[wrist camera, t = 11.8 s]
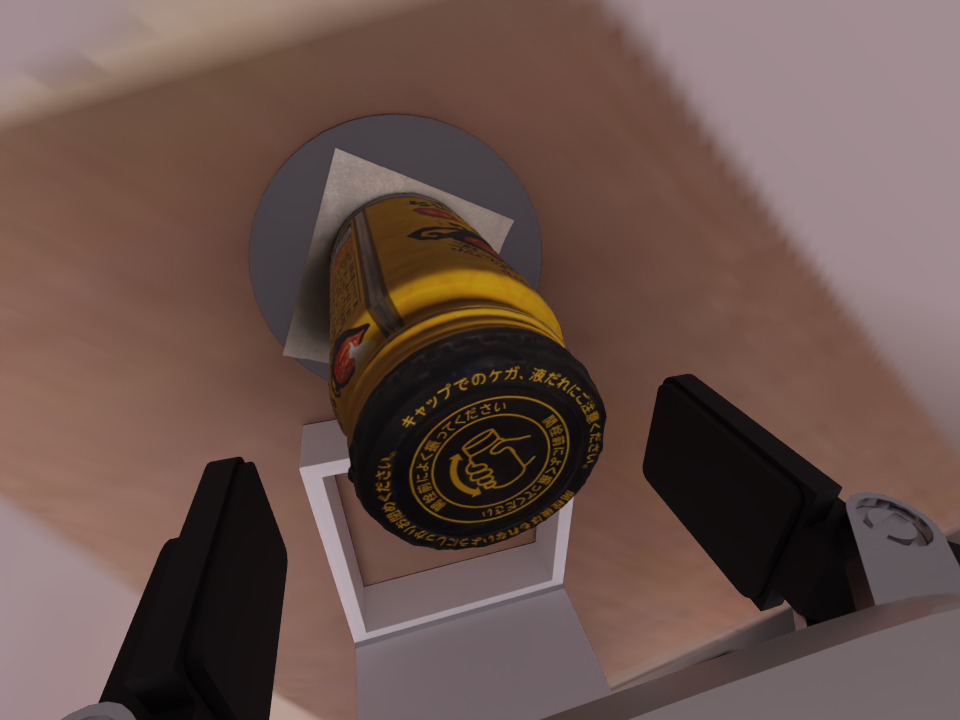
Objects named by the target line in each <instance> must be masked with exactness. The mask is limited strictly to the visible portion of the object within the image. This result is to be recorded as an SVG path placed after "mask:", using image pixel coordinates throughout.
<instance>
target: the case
mask: <svg viewBox="0 0 960 720" xmlns="http://www.w3.org/2000/svg"><path fill="white" fill-rule="evenodd" d="M349 467H350V459H349V453H348V447H347V437H346V436H345V435H344V434H343V432H342V431H341V428H340V426H339V424H338V422H337V419H336V420H331V421H325V422H320V423H314V424H308V425H303V432H302V442H301V452H300V463H299V470H300V473H301V476H302V479H303V482H304V486H305V489H306V492H307V495H308V498H309V501H310V504H311V508H312V511H313V514H314V517H315V520H316V523H317V526H318V530H319V533H320V536H321V539H322V542H323V545H324V548H325V552H326V555H327V558H328V561H329V564H330V567H331V570H332V573H333V577H334V580H335V583H336V586H337V589H338V592H339V595H340V599H341V602H342V605H343V608H344V611H345V614H346V617H347V621H348V624H349V627H350V630H351V633H352V636H353V639H354V643H355V662H356V691H357V720H540V719H543V718H546V717H548V716H551V715H554V714H557V713H560V712H563V711H566V710H568V709H571V708H574V707H577V706H580V705H583V704H586V703H589V702H591V701H594V700H597V699H600V698H603V697H606V696H609V695H612V694H613V693H612V691H611V689H610V686H609V684H608V682H607V680H606V678H605V675H604V673H603V671H602V669H601V667H600V665H599V662H598V660H597V658H596V656H595V654H594V652H593V649H592V647H591V645H590V643H589V641H588V639H587V636H586V634H585V632H584V630H583V628H582V625H581V623H580V621H579V619H578V617H577V615H576V612H575V610H574V608H573V606H572V604H571V602H570V599H569V597H568V595H567V593H566V591H565V588H564V585H563V577H564V569H565V561H566V553H567V546H568V538H569V530H570V522H571V514H572V507H573V499H574V497H573V498H572V499H571V500H569V502H568V503H567V504H566V505H565V506H564V507H562V508H561V509H560V510H559V511H557V512H556V513H555V514H554V515H552V516H550V517H549V518H548V519H547V520H546V521H544V522H541V523H540V524H539V525H537V527H536V541H535V542H534V543H531V544H527V545H523V546H519V547H515V548H511V549H508V550H504V551H500V552H496V553H492V554H488V555H485V556H481V557H477V558H473V559H469V560H465V561H462V562H458V563H454V564H450V565H446V566H442V567H439V568H435V569H431V570H427V571H423V572H419V573H416V574H412V575H408V576H404V577H400V578H396V579H393V580H389V581H385V582H381V583H377V584H373V585H370V586H366V587H364V586H363V582H362V578H361V575H360V571H359V567H358V563H357V560H356V556H355V552H354V548H353V544H352V541H351V537H350V533H349V529H348V526H347V522H346V518H345V514H344V510H343V507H342V503H341V499H340V495H339V492H338V488H337V484H336V480H335V476H334V475H336V474H341V473H346V472H348V469H349Z"/></svg>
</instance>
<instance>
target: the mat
mask: <svg viewBox="0 0 960 720" xmlns="http://www.w3.org/2000/svg"><path fill="white" fill-rule="evenodd" d="M335 148H337V149H339V150H342V151H344V152H347V153H349V154H352V155H354V156H357V157H359V158H362V159H364V160H366V161H369V162H371V163H374V164H376V165H378V166H381V167H385V168H387V169H389V170H392V171H394V172H397V173H399V174H402V175H404V176H407V177H409V178H411V179H414V180H416V181H419V182H421V183H424V184H426V185H429V186H431V187H434V188H436V189H439V190H441V191H444V192H446V193H449V194H451V195H454V196H456V197H458V198H461V199H463V200H466V201H468V202H471V203H473V204H475V205H478V206H480V207H483V208H485V209H488V210H490V211H492V212H495V213H497V214H500V215H502V216H505V217H507V218H510V219H512V220H514V222H513V224H512V226H511V227H510V229H509V232H508V234H507V236H506V238H505V240H504V242H503V245H502V248H501V250H500V253H499V255H500V256H501V257H502V259H503V260H504V261H505V262H506V263H507V264H508V265H509V266H511V267H512V268H513V269H514V270H515V271H516V272H517V273H518V274H519V275H521V276H523V277H524V278H525V280H527V281H528V282H529V284H530V285H531V287H532V288H533V289H534V290H535V291H536V292H537V289H538V285H539V280H540V273H541V265H542V245H541V238H540V230H539V226H538V222H537V218H536V215H535V211H534V209H533V206H532V204H531V201H530V199H529V197H528V194H527V193H526V191H525V189H524V187H523V186H522V184H521V182H520V181H519V179H518V177H517V176H516V175H515V174H514V172H513V171H512V170H511V169H510V167H509V166H508V165H507V164H506V162H505V161H504V160H503V159H501V158H500V157H499V156H498V155H497V154H496V153H495V152H494V151H493V150H492V149H491V148H489V147H488V146H487V145H485V144H484V143H482V142H481V141H480V140H478V139H477V138H475V137H474V136H472V135H470V134H468V133H466V132H464V131H462V130H460V129H458V128H456V127H454V126H451V125H448V124H445V123H443V122H440V121H437V120H434V119H430V118H425V117H419V116H414V115H404V114H383V115H374V116H366V117H362V118H358V119H354V120H351V121H347V122H344V123H342V124H339V125H337V126H335V127H333V128H330V129H328V130H326V131H324V132H322V133H321V134H319V135H318V136H316V137H314V138H313V139H311V140H310V141H308V142H307V143H305V144H304V145H303V146H302V147H301V148H300V149H299V150H298V151H296V152H295V153H294V154H293V155H292V156H291V157H290V158H289V159H288V160H287V161H286V163H285V164H284V165H283V166H282V167H281V169H280V170H279V171H278V172H277V174H276V175H275V176H274V178H273V180H272V181H271V183H270V185H269V186H268V188H267V190H266V191H265V193H264V195H263V197H262V199H261V202H260V204H259V207H258V209H257V212H256V214H255V218H254V222H253V226H252V231H251V235H250V247H249V266H250V277H251V282H252V286H253V290H254V295H255V298H256V300H257V303H258V306H259V308H260V311H261V313H262V315H263V317H264V319H265V321H266V322H267V324H268V326H269V328H270V330H271V331H272V333H273V334H274V335H275V337H276V338H277V339H278V341H279V342H280V343H281V345H282V346H283V347H284V348H285V344H286V340H287V336H288V333H289V329H290V324H291V320H292V316H293V312H294V309H295V305H296V300H297V297H298V293H299V289H300V286H301V281H302V277H303V273H304V269H305V265H306V261H307V258H308V254H309V250H310V246H311V242H312V238H313V234H314V230H315V226H316V222H317V218H318V214H319V211H320V207H321V203H322V199H323V195H324V191H325V187H326V183H327V179H328V175H329V171H330V167H331V164H332V160H333V156H334V152H335ZM294 358H295V357H294ZM295 359H296V360H297V361H299V362H300V363H301V364H302V365H304V366H305V367H306V368H307V369H309V370H310V371H312V372H314V373H315V374H317V375H318V376H320V377H322V378H323V379H325V380H328V381H329V376H328V371H329V363H326V362H320V361H314V360H311V359H300V358H295Z"/></svg>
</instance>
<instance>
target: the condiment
mask: <svg viewBox="0 0 960 720" xmlns="http://www.w3.org/2000/svg"><path fill="white" fill-rule="evenodd" d="M513 222H514V220H512V219H510V218H507V217H505V216H502V215H500V214H497V213H495V212H492V211H490V210H488V209H485V208H483V207H480V206H478V205H475V204H473V203H471V202H468V201H466V200H463V199H461V198H458V197H456V196H454V195H451V194H449V193H446V192H444V191H441V190H439V189H436V188H434V187H431V186H429V185H426V184H424V183H421V182H419V181H416V180H414V179H411V178H409V177H407V176H404V175H402V174H399V173H397V172H394V171H392V170H389V169H387V168H385V167H381V166H378V165H376V164H374V163H371V162H369V161H366V160H364V159H362V158H359V157H357V156H354V155H352V154H349V153H347V152H344V151H342V150H339V149H337V148H335V152H334V156H333V160H332V164H331V167H330V171H329V175H328V179H327V183H326V187H325V191H324V195H323V199H322V203H321V207H320V211H319V214H318V218H317V222H316V226H315V230H314V234H313V238H312V242H311V246H310V250H309V254H308V258H307V261H306V265H305V269H304V273H303V277H302V281H301V286H300V289H299V293H298V297H297V300H296V305H295V309H294V312H293V316H292V320H291V324H290V329H289V333H288V336H287V340H286V344H285V348H284V352H283V356H289V357H295V358H300V359H311V360H314V361H320V362H326V363H329V371H328V376H329V384H328V385H329V394H330V401H331V404H332V407H333V411H334V413H335V416H336V419H337V422H338V424H339V426H340V428H341V431H342V432H343V434H344V435H345V436H346V437H347V447H348V453H349V459H350V467H349V469H348V478H349V480H350V481H351V482H352V483H354V487H355V492H356V495H357V497H358V499H359V500H360V502H361V504H362V506H363V507H364V509H365V510H366V511H367V512H368V514H369V515H370V516H371V517H373V518H374V519H375V520H376V521H377V522H378V523H380V524H381V525H382V526H383V528H384V529H386V530H387V531H389V532H391V533H392V534H394V535H396V536H398V537H399V538H401V539H402V540H404V541H406V542H408V543H410V544H412V545H414V546H423V547H429V548H434V549H437V550H449V549H453V550H459V549H465V548H472V547H485V546H488V545H492V544H495V543H498V542H501V541H504V540H507V539H509V538H512V537H514V536H516V535H518V534H520V533H522V532H524V531H526V530H528V529H532V528H534V527H536V526H537V525H539V524H540V523H541V522H544V521H546V520H547V519H548V518H549V517H550V516H552V515H554V514H555V513H556V512H557V511H559V510H560V509H561V508H562V507H564V506H565V505H566V504H567V503H568V502H569V500H571V499H572V498H573V497H574V496H575V494H576V493H577V492H578V491H579V490H580V488H581V487H582V486H583V485H584V484H585V482H586V480H587V478H588V477H589V475H590V473H591V471H592V469H593V467H594V465H595V463H596V462H597V460H598V457H599V454H600V453H601V451H602V449H603V433H604V426H605V422H606V417H607V416H606V411H605V408H604V404H603V401H602V399H601V397H600V395H599V393H598V391H597V388H596V386H595V384H594V383H593V381H592V380H591V378H590V376H589V374H588V371H587V369H586V368H585V367H584V365H583V364H582V363H581V362H579V361H578V360H577V359H575V358H574V357H573V356H572V355H571V353H570V352H569V351H568V349H567V347H566V345H565V344H564V340H563V337H562V333H561V328H560V325H559V323H558V321H557V319H556V317H555V315H554V313H553V311H552V310H551V308H550V307H549V306H548V305H547V303H546V302H545V301H544V300H543V299H542V298H541V296H540V295H539V294H538V293H537V292H536V291H535V290H534V289H533V288H532V287H531V285H530V284H529V282H528V281H527V280H525V278H524V277H523V276H521V275H519V274H518V273H517V272H516V271H515V270H514V269H513V268H512V267H511V266H509V265H508V264H507V263H506V262H505V261H504V260H503V259H502V257H501V256H500V255H499V253H500V250H501V248H502V245H503V242H504V240H505V238H506V236H507V234H508V232H509V229H510V227H511V226H512V224H513Z"/></svg>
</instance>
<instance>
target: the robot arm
mask: <svg viewBox="0 0 960 720" xmlns="http://www.w3.org/2000/svg"><path fill="white" fill-rule="evenodd" d="M643 473H644V476H645V478H646V480H647V481H648V482H649V483H650V485H651V486H652V487H653V488H654V489H655V491H656V492H657V493H658V494H659V496H660V497H661V498H662V499H663V500H664V502H665V503H666V504H667V505H668V506H669V508H670V509H671V510H672V511H673V513H674V514H675V515H676V516H677V517H678V519H679V520H680V521H681V522H682V523H683V525H684V526H685V527H686V528H687V530H688V531H689V532H690V533H691V534H692V536H693V537H694V538H695V539H696V540H697V542H698V543H699V544H700V545H701V547H702V548H703V549H704V550H705V551H706V553H707V554H708V555H709V556H710V557H711V559H712V560H713V561H714V562H715V564H716V565H717V566H718V567H719V568H720V570H721V571H722V572H723V573H724V574H725V576H726V577H727V578H728V579H729V581H730V582H731V583H732V584H733V585H734V587H735V588H736V589H737V590H738V591H739V592H740V593H741V594H742V595H743V596H745V597H747V598H750V599H751V600H752V601H753V603H754V604H755V605H756V606H757V607H758V609H759V610H760V611H764V610H767V609H770V608H773V607H776V606H779V605H782V604H783V602H784V600H786V601H787V602H788V603H789V604H790V606H791V607H792V608H793V613H794V620H795V628H796V631H795V632H792V633H789V634H786V635H783V636H780V637H777V638H775V639H771V640H768V641H765V642H763V643H760V644H757V645H754V646H751V647H748V648H745V649H742V650H739V651H736V652H733V653H730V654H727V655H724V656H721V657H718V658H716V659H713V660H710V661H707V662H704V663H701V664H698V665H695V666H692V667H689V668H686V669H684V670H681V671H678V672H675V673H672V674H669V675H666V676H664V677H661V678H658V679H655V680H652V681H649V682H646V683H643V684H640V685H637V686H635V687H632V688H629V689H626V690H623V691H621V692H617V693H614V694H612V695H609V696H606V697H603V698H600V699H597V700H594V701H591V702H589V703H586V704H583V705H580V706H577V707H574V708H571V709H568V710H566V711H563V712H560V713H557V714H554V715H551V716H548V717H546V718H543V719H540V720H960V545H959V544H956V543H952V542H949V541H946V538H945V536H944V534H943V533H942V532H941V530H940V529H939V527H938V526H937V525H936V524H935V523H934V522H933V521H932V520H931V519H930V518H929V517H927V516H926V515H925V514H924V513H922V512H921V511H919V510H917V509H916V508H914V507H913V506H911V505H909V504H907V503H905V502H902V501H900V500H898V499H896V498H893V497H889V496H886V495H883V494H878V493H871V492H861V493H856V494H853V495H851V496H850V497H849V498H848V499H847V501H846V502H844V501H842V500H841V499H840V498H838V495H839V493H840V491H841V489H842V487H841V486H840V485H839V484H837V483H836V482H835V481H833V480H832V479H831V478H829V477H828V476H827V475H825V474H824V473H823V472H821V471H820V470H819V469H817V468H816V467H815V466H813V465H812V464H811V463H809V462H808V461H807V460H806V459H804V458H803V457H802V456H800V455H799V454H798V453H796V452H795V451H794V450H792V449H791V448H790V447H788V446H787V445H786V444H784V443H783V442H782V441H780V440H779V439H778V438H776V437H775V436H774V435H772V434H771V433H770V432H768V431H767V430H766V429H764V428H763V427H762V426H760V425H759V424H758V423H756V422H755V421H754V420H752V419H751V418H750V417H748V416H747V415H746V414H745V413H743V412H742V411H741V410H739V409H738V408H737V407H735V406H734V405H733V404H731V403H730V402H729V401H727V400H726V399H725V398H723V397H722V396H721V395H719V394H718V393H717V392H715V391H714V390H713V389H711V388H710V387H709V386H707V385H706V384H705V383H703V382H702V381H701V380H699V379H698V378H697V377H695V376H694V375H692V374H684V375H678V376H673V377H668V378H666V379H665V380H664V382H663V384H662V385H660V387H659V389H658V392H657V397H656V402H655V407H654V412H653V417H652V422H651V427H650V432H649V436H648V441H647V446H646V451H645V456H644V461H643ZM287 563H288V562H287V551H286V547H285V544H284V542H283V539H282V536H281V534H280V531H279V528H278V525H277V523H276V520H275V517H274V515H273V512H272V509H271V507H270V504H269V501H268V498H267V496H266V493H265V490H264V488H263V485H262V482H261V480H260V477H259V474H258V471H257V469H256V466H255V464H254V463H253V462H247V463H245V462H244V460H243V459H242V457H234V458H229V459H224V460H218V461H213V462H209V463H208V464H207V466H206V467H205V470H204V473H203V475H202V478H201V480H200V483H199V486H198V488H197V491H196V494H195V496H194V499H193V501H192V504H191V507H190V509H189V512H188V515H187V517H186V520H185V522H184V525H183V528H182V530H181V533H180V536H179V537H178V538H174V539H170V540H168V541H167V542H166V543H165V544H164V546H163V548H162V550H161V552H160V554H159V556H158V559H157V561H156V564H155V566H154V568H153V571H152V573H151V576H150V578H149V581H148V583H147V586H146V588H145V590H144V593H143V595H142V598H141V600H140V603H139V605H138V608H137V610H136V612H135V615H134V617H133V620H132V622H131V625H130V627H129V629H128V632H127V634H126V637H125V639H124V642H123V644H122V647H121V649H120V651H119V654H118V657H117V659H116V661H115V664H114V666H113V669H112V671H111V673H110V676H109V678H108V681H107V683H106V686H105V688H104V690H103V693H102V695H101V698H100V700H99V703H98V704H93V705H88V706H86V707H84V708H82V709H80V710H78V711H75V712H73V713H71V714H69V715H68V716H66V717H64V718H63V719H61V720H269V716H270V708H271V700H272V691H273V683H274V674H275V666H276V658H277V649H278V641H279V632H280V624H281V615H282V607H283V599H284V590H285V582H286V573H287Z"/></svg>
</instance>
